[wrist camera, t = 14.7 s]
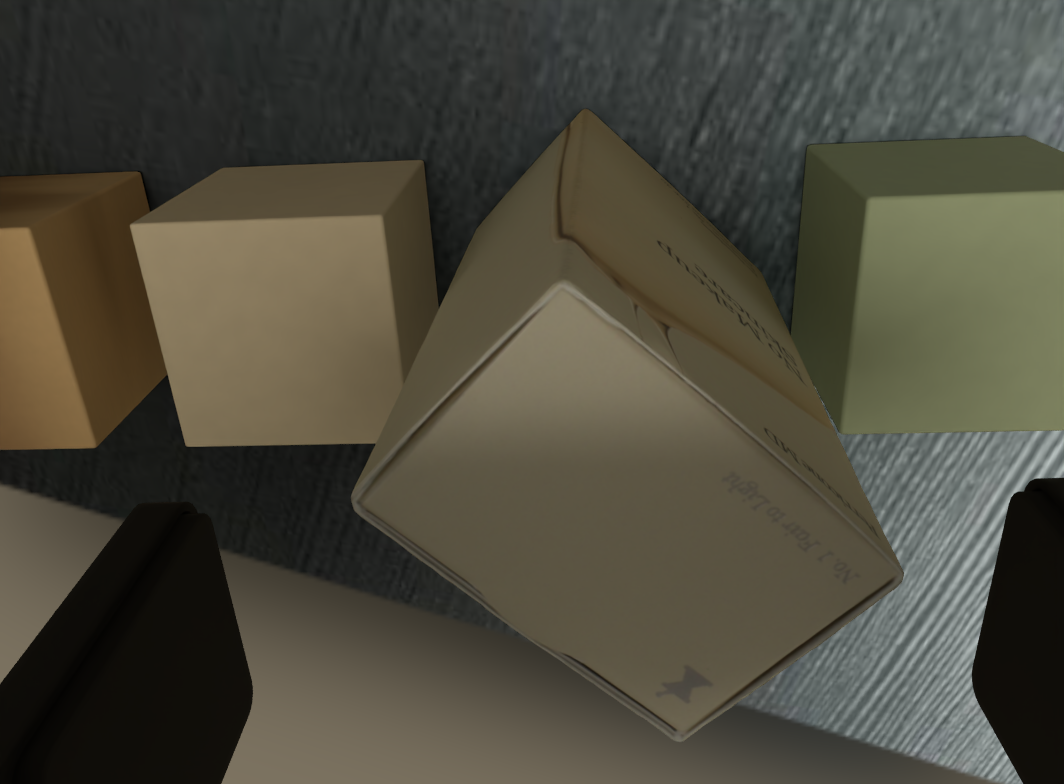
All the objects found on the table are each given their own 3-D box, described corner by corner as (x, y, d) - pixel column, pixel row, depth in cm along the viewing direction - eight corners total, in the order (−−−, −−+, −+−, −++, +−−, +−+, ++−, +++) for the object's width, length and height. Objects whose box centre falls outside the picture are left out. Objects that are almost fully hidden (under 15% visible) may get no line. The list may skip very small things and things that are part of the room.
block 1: (9, 360, 24) (-120, 453, 20) (-53, 178, 22) (-214, 236, 18) (186, 356, 24) (96, 449, 20) (141, 170, 22) (28, 227, 17)
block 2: (258, 354, 24) (184, 447, 19) (221, 167, 22) (127, 224, 17) (443, 350, 24) (411, 444, 19) (424, 158, 21) (382, 214, 17)
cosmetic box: (764, 270, 22) (939, 581, 11) (639, 389, 24) (686, 759, 13) (577, 95, 21) (571, 264, 10) (456, 235, 22) (335, 512, 11)
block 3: (789, 341, 23) (838, 436, 19) (806, 143, 21) (867, 197, 16) (988, 336, 23) (1089, 431, 18) (1028, 135, 20) (1152, 187, 16)
